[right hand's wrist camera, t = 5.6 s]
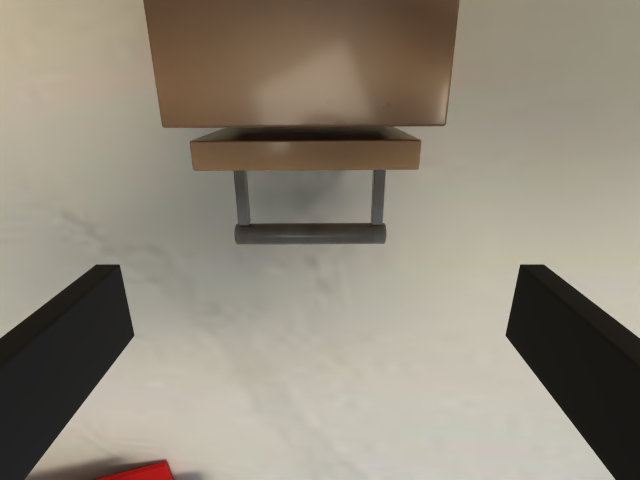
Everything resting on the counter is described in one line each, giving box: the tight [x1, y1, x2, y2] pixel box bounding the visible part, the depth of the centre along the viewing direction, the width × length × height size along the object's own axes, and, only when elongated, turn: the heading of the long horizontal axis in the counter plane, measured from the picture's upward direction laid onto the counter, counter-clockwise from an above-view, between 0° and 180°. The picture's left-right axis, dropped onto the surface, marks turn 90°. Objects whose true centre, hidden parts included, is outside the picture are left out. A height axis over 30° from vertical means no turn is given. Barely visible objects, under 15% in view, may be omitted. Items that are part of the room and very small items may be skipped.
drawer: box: [190, 126, 421, 244], centre depth 18 cm, size 21×9×10 cm, turn 0°
